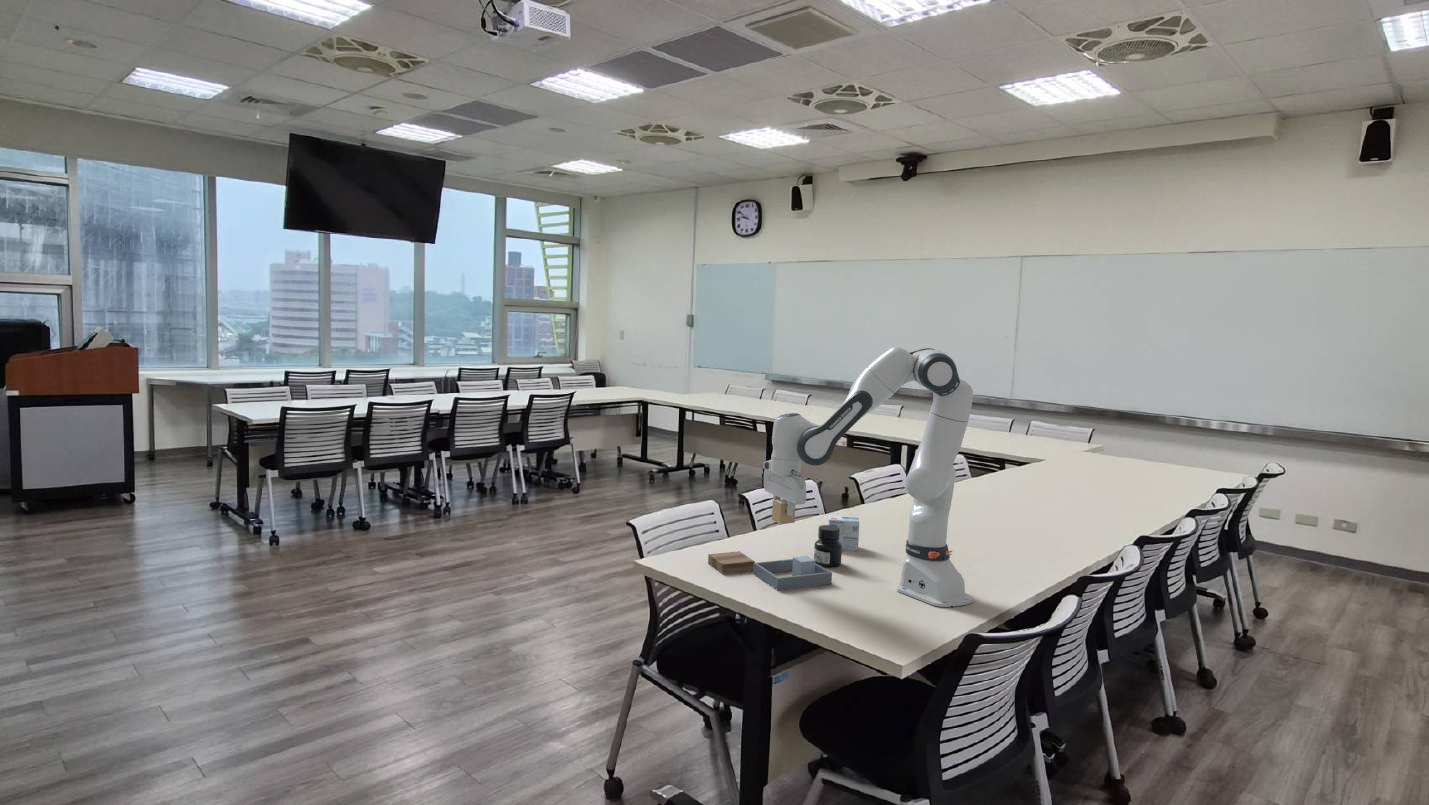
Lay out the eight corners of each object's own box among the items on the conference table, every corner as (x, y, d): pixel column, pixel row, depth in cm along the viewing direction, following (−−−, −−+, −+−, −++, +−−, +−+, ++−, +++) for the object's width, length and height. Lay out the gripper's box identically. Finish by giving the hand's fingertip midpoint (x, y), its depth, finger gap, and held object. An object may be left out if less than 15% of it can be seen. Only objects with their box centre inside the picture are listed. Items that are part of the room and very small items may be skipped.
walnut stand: (754, 570, 245) (754, 561, 245) (722, 574, 240) (722, 564, 240) (738, 560, 255) (739, 551, 255) (708, 563, 250) (708, 554, 250)
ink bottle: (808, 560, 258) (810, 524, 257) (831, 558, 261) (833, 523, 260) (822, 569, 249) (824, 532, 248) (846, 567, 252) (848, 530, 251)
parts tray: (831, 584, 235) (832, 572, 235) (777, 590, 228) (777, 578, 227) (804, 568, 249) (805, 557, 249) (752, 573, 242) (753, 562, 241)
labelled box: (794, 522, 234) (795, 502, 233) (779, 523, 232) (780, 503, 231) (786, 518, 238) (787, 498, 238) (771, 519, 236) (772, 499, 235)
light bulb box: (856, 546, 277) (858, 516, 276) (858, 551, 270) (860, 521, 269) (826, 544, 278) (828, 514, 277) (827, 549, 271) (829, 519, 270)
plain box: (814, 579, 239) (815, 560, 238) (800, 581, 237) (801, 562, 236) (805, 574, 243) (806, 555, 243) (791, 576, 241) (792, 557, 241)
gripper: (812, 473, 225) (810, 520, 226) (778, 460, 244) (776, 504, 245) (793, 474, 222) (791, 521, 224) (760, 461, 241) (758, 505, 242)
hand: (783, 512), depth 235 cm, fingers closed on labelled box, 5 cm apart
